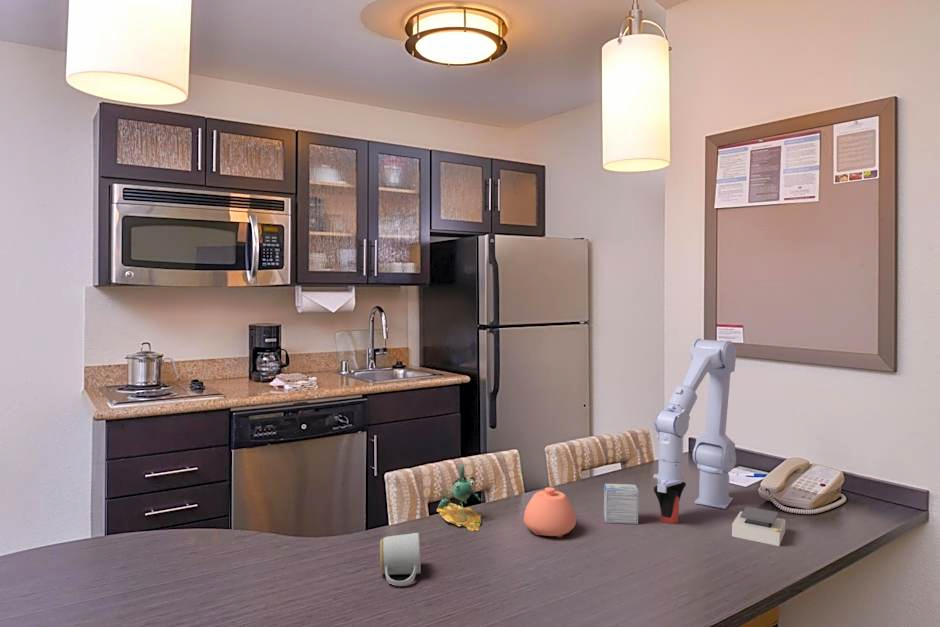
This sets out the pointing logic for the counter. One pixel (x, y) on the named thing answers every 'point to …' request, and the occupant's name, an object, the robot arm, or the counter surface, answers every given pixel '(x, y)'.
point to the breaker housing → (759, 531)
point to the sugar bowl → (549, 513)
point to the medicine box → (621, 503)
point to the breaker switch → (759, 516)
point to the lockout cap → (675, 514)
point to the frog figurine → (456, 512)
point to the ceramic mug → (400, 557)
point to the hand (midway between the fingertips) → (669, 513)
